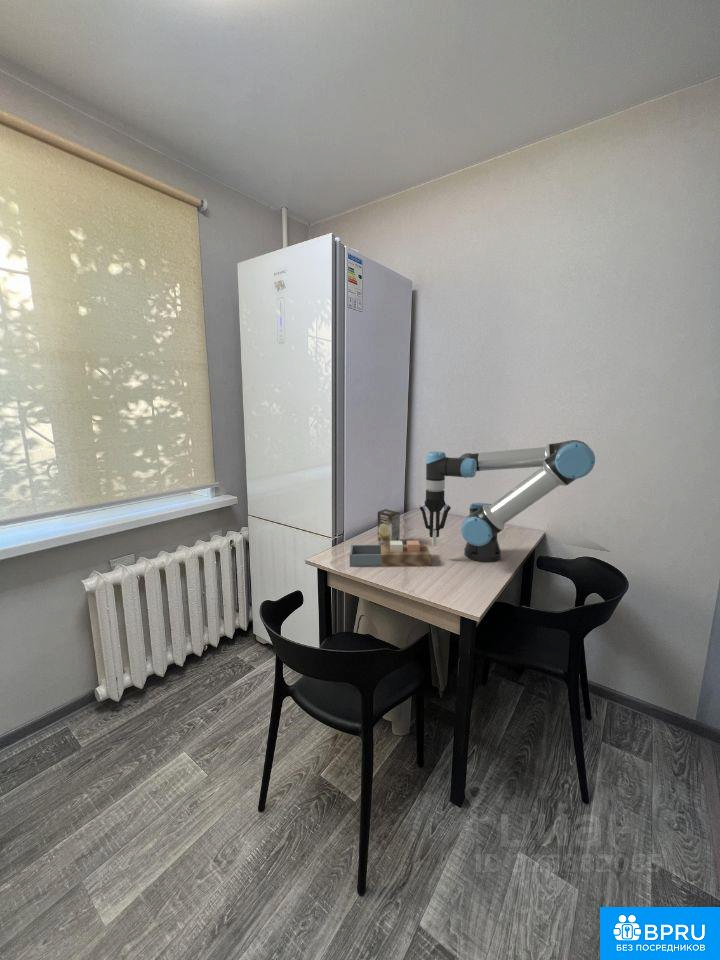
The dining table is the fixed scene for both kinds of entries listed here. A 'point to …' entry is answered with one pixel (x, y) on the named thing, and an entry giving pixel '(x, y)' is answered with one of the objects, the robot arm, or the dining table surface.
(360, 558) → the box
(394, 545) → the tile cream
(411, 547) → the tile terracotta
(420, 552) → the wooden tile board
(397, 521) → the coffee box
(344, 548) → the dining table surface
